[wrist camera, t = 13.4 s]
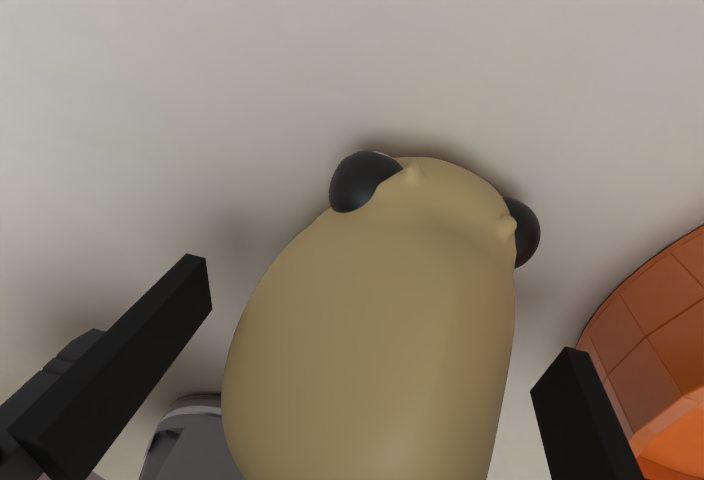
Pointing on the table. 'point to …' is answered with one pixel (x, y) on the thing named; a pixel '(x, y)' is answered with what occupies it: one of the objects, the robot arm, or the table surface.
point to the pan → (657, 359)
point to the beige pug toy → (381, 330)
